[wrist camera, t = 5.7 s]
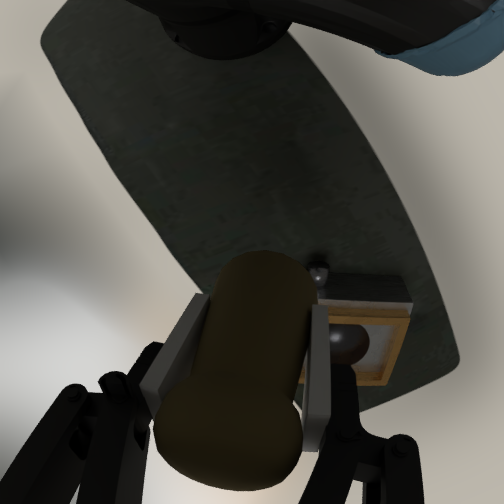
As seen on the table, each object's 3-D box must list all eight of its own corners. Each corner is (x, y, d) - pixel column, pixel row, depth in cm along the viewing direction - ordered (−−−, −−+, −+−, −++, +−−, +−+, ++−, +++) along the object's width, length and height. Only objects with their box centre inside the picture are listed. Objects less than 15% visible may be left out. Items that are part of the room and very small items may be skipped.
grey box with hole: (276, 251, 37) (268, 283, 30) (404, 259, 34) (422, 291, 27) (274, 347, 43) (267, 385, 36) (380, 352, 40) (387, 390, 34)
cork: (194, 282, 18) (97, 434, 8) (278, 229, 16) (225, 410, 6) (254, 351, 19) (211, 506, 9) (337, 312, 17) (344, 495, 7)
